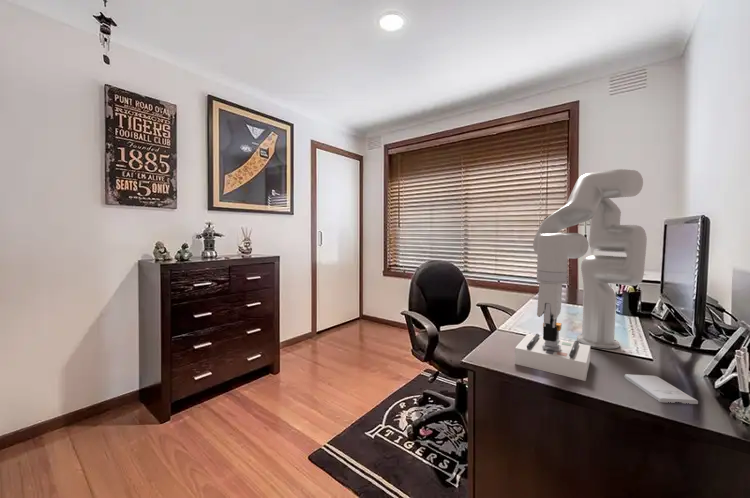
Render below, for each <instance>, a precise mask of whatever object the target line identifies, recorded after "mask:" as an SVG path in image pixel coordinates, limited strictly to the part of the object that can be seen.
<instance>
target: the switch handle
mask: <svg viewBox="0 0 750 498" xmlns="http://www.w3.org/2000/svg"><path fill="white" fill-rule="evenodd" d="M562 325H563V324H562V323H561V322H557V324H556V326H555V327H557V339H556V341H555V342H553V341H547V340H545V343H544V344H543V346H542V349H547V350H552V351H557V352H559V351H560V349H561V346H560V345H559V340H560V339H559V337H560V331H561V330H562ZM543 326H544V322H542V327H543Z"/></svg>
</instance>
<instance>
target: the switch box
mask: <svg viewBox="0 0 750 498" xmlns="http://www.w3.org/2000/svg"><path fill="white" fill-rule="evenodd" d="M544 343H545V340H544V339H543V336H540V334H539V333H536V334H535V335H533V334H528V333H527V334H526V335H525V336H524V337H523V338H522V340H521V341H520V342H519V343H518V344H517V345H516V346H515V347H514V349H515V350H514V365H518V366H522V367H525V368H526V367H527V368H530V369H535V370H538V371H543V372H547V373H551V374H555V375H558V376H559V375H560V376H563V377H568V378H571V379H576V380H580V381H584V382H586V381H587V375H588V372H589V367H590V361H591V346H590V345H585V344H583V343H580V342H579V341H578V340H575V341H574V342H573V341H567V340H562V339H559V345H560V346H561V349H560V351H559V352H557V351H552V350H547V349H542V346H543V344H544Z"/></svg>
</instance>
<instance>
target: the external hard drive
mask: <svg viewBox="0 0 750 498" xmlns="http://www.w3.org/2000/svg"><path fill="white" fill-rule="evenodd" d="M624 379H625V380H627V381H628V382H629V383H632V384H633V385H634V386H636V387H637V388H639V389H640V390H641V391H643V392H644V393H646V394H648V395H649V396H650V397H652V398H653V399H655V400H656V401H657V400H658V401H657V402H659V403H668V402H669V404H670V402H671V404H673V403H674V404H676V403H675V402H677V403H678V402H679V404H686V403H687V404H688V403H689V405H690V404H691V405H698V404H699V400H697V399H696V398H694V397H692V396H691V395H689V394H687V393H686V392H683V391H682V390H681V389H679V388H677V387H676V386H674V385H672V384H671V383H669V382H667V381H666V380H664V379H663V378H660V377H659V376H657V375H650V374H649V375H648V374H629V373H628V374H627V373H626V374H624Z"/></svg>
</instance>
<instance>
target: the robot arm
mask: <svg viewBox="0 0 750 498" xmlns="http://www.w3.org/2000/svg"><path fill="white" fill-rule="evenodd" d="M643 186H644V179H643V175H642V174H641V173H640V172H639V171H638V170H635V169H623V168H618V169H610V170H603V171H593V172H587V173H585V174H583V175H580V176H579V177H578V178H577V180H576V182H575V184H574V186H573V188H572V190H571V191H570V192H571V193H570V195H569V196H568V199H567V201H566V203H565V205H564V206H562V207H560V208H559V209H557V210H556V211H554V212H552V213H551V214H550V215H549V216H547V217H546V218H545V219H544V220H542V222H541V224H540V226H539V227H538V230H537V231H536V234H535V236H534V239H533V244H532V247H533V252H534V253H535V254H536V255H537V258H536V259H537V262H536V263H537V264H536V282H538V283H539V286H538V293H537V294H538V295H537V309H536V315H537V317H538V318H541V317H542V316H543V323H544V326H543V325H542V334H543V335H542V337H543V339H544V340H547V341H553V342H555V341H556V339H557V327H555V326H556V324H557V323H558V320H557V319H558V317H559V316H560V314H561V311H562V301H563V300H562V299H563V297H562V296H563V285H566V284H567V283H568V259H579V258H582V257H584V256H585V255H586V254H587V252H588V249H589V247H590V249H591V250H593V251H597V252H607V253H621V254H622V253H624V254H625V255H626V256H618V255H617V256H616V255H602V254H600V255H599V254H596V255H588V256H585V258H583V259H582V261H581V264H580V265H581V266H580V269H581V271H580V272H581V277H582V284H583V286H582V288H583V297H582V319H581V321H582V323H581V327H582V328H581V334H578V335H576V341H578V342H579V344H584V345H590V347H593V348H597V349H605V350H606V349H607V350H612V349H613V350H615V349H618V348H620V346H621V345H620V344H621V343H620V341H618V340H616V338H615V329H616V305H617V295H616V293H615V291H614V290H613V288H612V286H610V284H614V285H624V286H638V285H640V284H641V283H642V282H643V279H644V276H645V275H644V274H645V268H646V267H645V264H646V253H647V252H646V251H647V245H648V244H647V233H646V230H645V229H644V227H642V226H640V225H637V224H621V216H622V214H621V213H622V211H621V209H620V207H619V206H618V205H617V204H616V203H615V202H614V201H613V200H612V199H615V198H629V197H630V198H631V197H636V196H638V195H639V194H640V193H641V191H642V189H643ZM589 220H590V226H589V227H590V228H589V235H588V236H589V238H588V239H587V237H586V236H585V235H583V234H581V233H578V232H560V231H562V230H565V229H568V228H570V227H574V226H576V225H580V224H583V223H585V222H587V221H589Z"/></svg>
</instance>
